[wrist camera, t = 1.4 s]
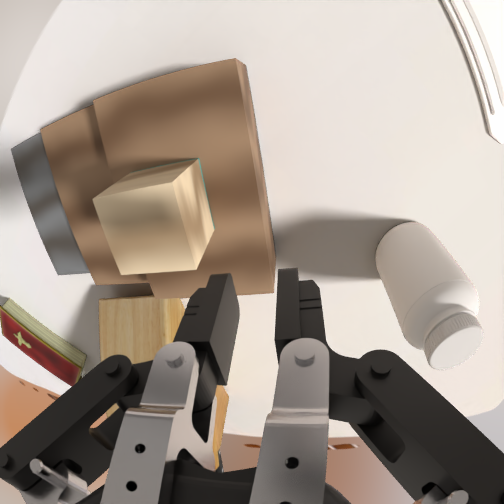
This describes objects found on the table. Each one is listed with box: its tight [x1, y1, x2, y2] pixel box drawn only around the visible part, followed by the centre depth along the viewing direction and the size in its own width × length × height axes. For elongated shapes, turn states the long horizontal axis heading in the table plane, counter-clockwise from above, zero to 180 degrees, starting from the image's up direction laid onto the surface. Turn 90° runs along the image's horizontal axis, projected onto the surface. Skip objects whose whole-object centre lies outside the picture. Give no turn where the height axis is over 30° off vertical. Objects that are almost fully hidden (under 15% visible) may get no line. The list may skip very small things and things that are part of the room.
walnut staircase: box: [11, 58, 276, 299], centre depth 28 cm, size 20×32×6 cm, turn 99°
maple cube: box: [92, 158, 215, 275], centre depth 21 cm, size 6×6×6 cm
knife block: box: [99, 295, 229, 473], centre depth 32 cm, size 11×35×31 cm, turn 12°
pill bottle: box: [375, 222, 484, 370], centre depth 25 cm, size 8×8×15 cm
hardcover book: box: [0, 298, 87, 386], centre depth 47 cm, size 12×21×4 cm, turn 56°
